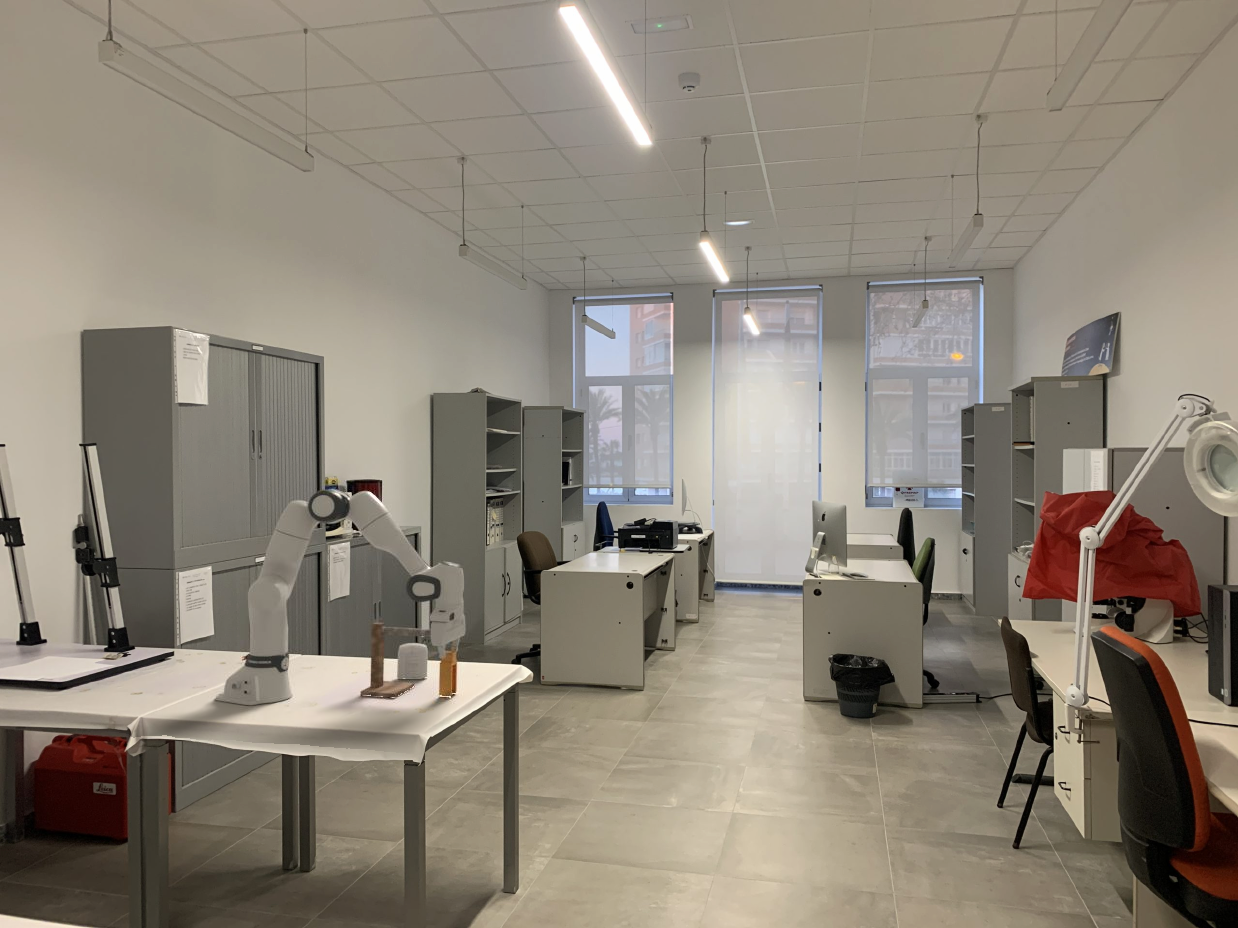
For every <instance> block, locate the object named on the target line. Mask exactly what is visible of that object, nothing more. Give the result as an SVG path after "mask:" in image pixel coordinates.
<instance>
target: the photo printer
mask: <svg viewBox="0 0 1238 928" xmlns="http://www.w3.org/2000/svg"><path fill="white" fill-rule="evenodd" d="M428 652H429V651H428V646H427V645H425V644H423V643H417V642H411V643H410V642H407V643H403V644H401V645H399V648H398V650H397V672H396V673H397V675H396V678H398V679H397V680H404V679H403V678H425V677H427V678H428V660H429V659H428V657H429V656H428V654H429V653H428Z"/></svg>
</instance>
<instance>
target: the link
mask: <svg viewBox="0 0 1238 928" xmlns="http://www.w3.org/2000/svg"><path fill="white" fill-rule="evenodd" d="M445 652H446V657H445V658H440V662H439V674H438V675H439V679H438V683H439V685H438V687H439V688H438V691H439V692H438V696H439V695H442V696H451V695H452V693H456V692H457V690H458V689H457V684H458V683H457V682H458V679H457V678H458V659H457V652H456V651H451V650H445ZM452 696H453V695H452Z"/></svg>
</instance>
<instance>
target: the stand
mask: <svg viewBox="0 0 1238 928" xmlns="http://www.w3.org/2000/svg"><path fill="white" fill-rule="evenodd" d="M385 635H389V636H390V635H392V636H393V635H394V636H396V635H397V636H409V637H410V636H411V637H427V638H429V637H430V638H431V628H415V627H413V628H411V627H397V626H396V627H395V626H385V622H377V621H376V622H374V623H372V624H371V641H370V642H371V644H370V647H371V649H370V686H369V687H366V688H365V689H362V690H360V695H371V696H383V697H397V696H398V695H400V694H401V693H404V692H405V691H407V690H409V689H410V688H412V687H413V686H414V687H415V682H405V681H404V682H403V681H392V680H391V681H389V680H384V670H385V669H384V668H385V667H384V665H385V664H384V663H385V662H384V661H385ZM409 691H410V690H409ZM407 692H408V691H407ZM404 694H405V693H404ZM400 696H401V695H400ZM397 698H398V697H397Z"/></svg>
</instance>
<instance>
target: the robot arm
mask: <svg viewBox="0 0 1238 928" xmlns="http://www.w3.org/2000/svg"><path fill="white" fill-rule="evenodd" d="M345 520H349V521H350V522H352V523H353V524H354V525H355V527H356V528H357V529H358V530H359V533H361V535H362V536H363V537H364V539H366V540H367V542H368V543H369V544H371V546H372V547H374V549H375V548H376V549H378V550H382V551H385V552H387V553H389V554H391V555H392V556H394V557H395V558H396V559H397V560H398V561H399V562H400V564H401V565H402V567H404V568H405V570H406V571H407V572H408V573H409V575H410V578H409V579H408V580H407V581H406V585H405V590H406V594H407V596H408V597H409V598H410V599H411V600H412V601H414V602H416V603H426V602H430V601H435V608H434V609H433V611H432V612H431V613H430V615H429V621H430V622H431V624H430V629H431V637H430V643H431V646H433V647H437V650H438V655H439V659H441V658H445V657H446V652H445V651H446V645H448V644H449V643H451V642H452V645H451V647H450V651H456V653H457V652H458V650H459V645H460V639H461V637H464V636H465V635H466V616H465V614H464V606H465V605H464V603H465V602H464V595H463V593H464V590H465V579H464V578H465V577H464V576H465V575H464V570H463V566H461V565H460V564H459V563H456V562H452V561H440V562H438V563H437V564H436V565H434V566H431V565H430V564H428V563H427V562H426V561H425V560H424V559H423V558H422V556H421V554H419V553H418V551H417V550H416V549H415V548H414V546H413V545H412V544H411V543H410V541H409V540H408V539H407V537H406V535H405V533H404V532H403V530H402V529H401V526H400V525H399V524H398V522H397V521H396V519H395V517H394V515H392V513H391V512H390V510H389V509H388V508H387V506H385V505H384V503H383V502H382V501H381V500H380V499H379V498H378V497H377V496H376V495H375V494H373V493H372V492H371V491H370V490H369V491H368V490H363V491H358V492H357V493H355V494H353V495H351V496H350V495H349V494H348V493H346V492H345V491H343V490H339V489H336V488H329V489H327V488H326V489H321V490H318V491H316V492H314V494H313V495H311V496H310V499H309V500H308V501H305V500H302V499H301V500H300V499H297V500H292V501H290V502H289V503H288V504H287V505H286V507H285V508H284V510H283V512H282V513H281V515H280V517H279V519H278V521H277V523H276V526H275V529H274V530H273V532H272V535H271V538H270V541H269V544H268V546H267V548H266V550H265V556H264V559H263V563H262V566H261V569H260V573H259V575H258V578H257V579H256V580H255V581H254V582H253V583H252V584H251V585H250V587H249V589H248V592H247V604H248V605H247V606H248V607H247V608H248V618H249V620H248V621H249V626H250V628H249V629H250V635H249V639H250V640H249V653H248V654H246V655H244V656H242V657H241V658H242V659H241V661H245V662H244V665H243V666H242V667H240V668H239V669H238V670H236V671H235V672H234V673H232V674H231V675H230V676H229V677H228V678H227V679H226V681H225V684H224V689H223V691H222V692H220V693H218V694H217V695H216V696H215V701H218V702H225V703H230V704H231V703H232V704H238V705H243V706H244V705H246V706H255V705H260V704H268V703H269V704H270V703H276V702H281V701H284V700H287V699H290V698H291V697H293V693H292V690H291V685H290V677H289V666H290V652H289V649H288V648H289V624H288V615H287V601H288V600H289V598H290V597H291V594H292V591H293V589H294V586H295V584H296V580H297V578H298V575H299V574H298V573H299V571H300V567H301V565H302V562H303V559H304V556H305V553H306V551H307V548H308V545H309V543H310V540H311V538H312V535H313V533H314V529H315V528H316V526H318V524H329V525H330V524H336V523H342V522H344V521H345Z"/></svg>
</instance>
